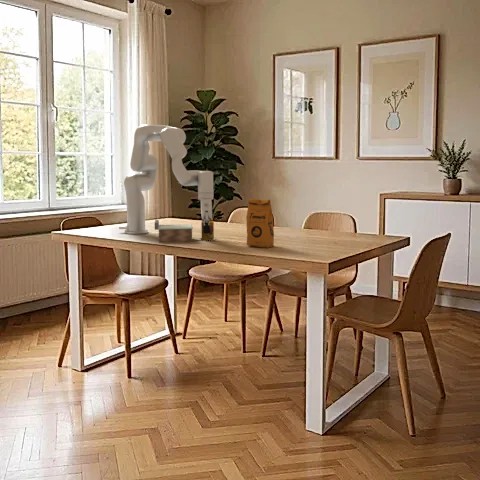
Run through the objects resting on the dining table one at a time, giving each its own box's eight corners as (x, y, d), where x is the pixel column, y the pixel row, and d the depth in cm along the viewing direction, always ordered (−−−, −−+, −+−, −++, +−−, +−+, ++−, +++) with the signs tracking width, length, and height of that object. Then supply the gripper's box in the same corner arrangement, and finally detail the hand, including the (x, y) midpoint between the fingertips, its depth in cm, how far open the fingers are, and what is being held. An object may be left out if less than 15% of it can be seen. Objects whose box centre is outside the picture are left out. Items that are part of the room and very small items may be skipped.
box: (158, 242, 302) (158, 230, 301) (159, 238, 314) (159, 227, 313) (192, 241, 303) (192, 229, 302) (191, 238, 315) (191, 226, 314)
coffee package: (267, 249, 281) (268, 200, 278) (243, 247, 287) (243, 199, 284) (277, 246, 290) (277, 198, 287) (253, 244, 296) (253, 197, 293)
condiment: (211, 241, 306) (211, 216, 304) (195, 240, 308) (195, 216, 306) (216, 239, 313) (216, 215, 311) (200, 238, 315) (200, 214, 313)
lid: (154, 229, 300) (154, 223, 300) (155, 226, 313) (155, 220, 312) (192, 229, 302) (192, 222, 302) (192, 225, 314) (191, 219, 314)
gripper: (214, 197, 299) (215, 234, 301) (212, 194, 316) (212, 230, 318) (198, 197, 298) (199, 235, 300) (197, 195, 315) (198, 230, 317)
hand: (206, 232), depth 309 cm, fingers closed on condiment, 6 cm apart
